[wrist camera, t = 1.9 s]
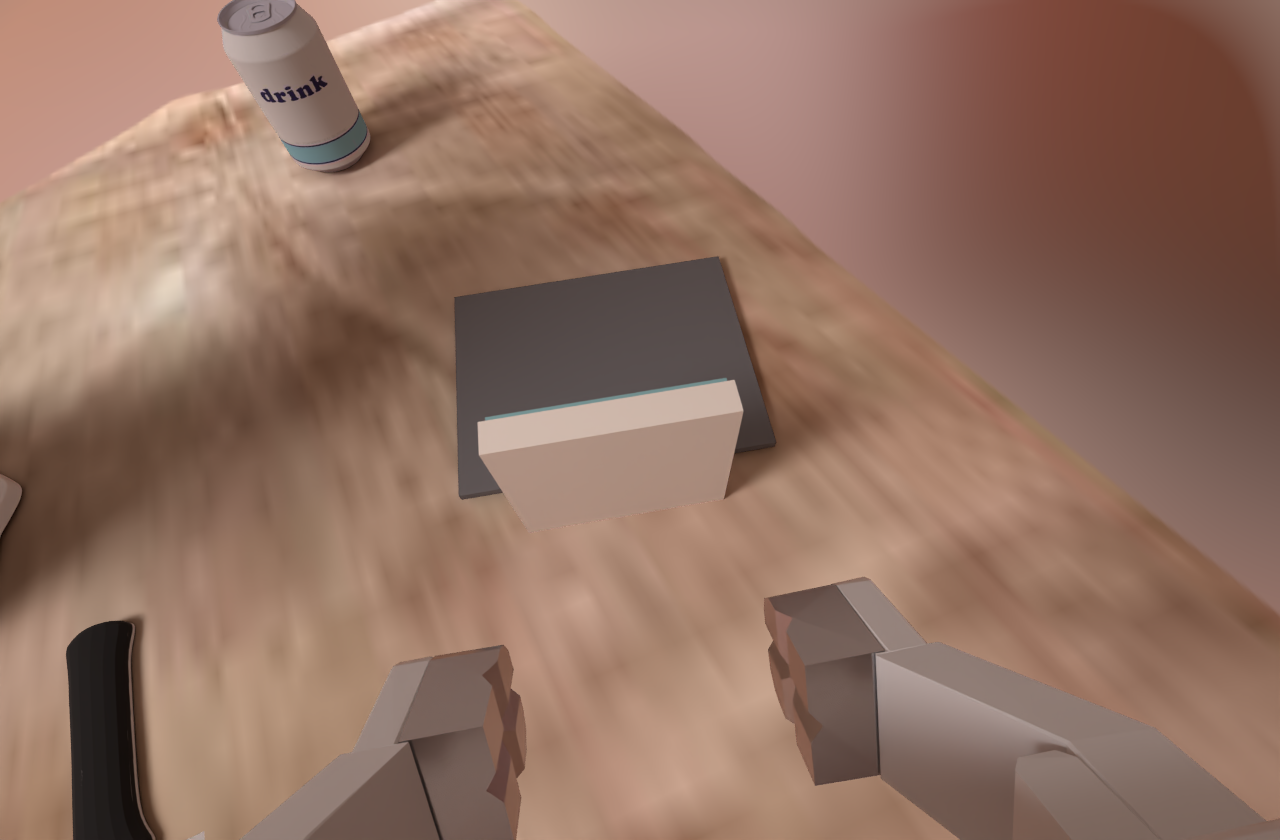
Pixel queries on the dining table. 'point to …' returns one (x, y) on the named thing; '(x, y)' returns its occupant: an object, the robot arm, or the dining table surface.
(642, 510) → the tile
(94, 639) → the kitchen cleaver
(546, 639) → the dining table surface
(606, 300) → the mat
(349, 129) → the beverage can
